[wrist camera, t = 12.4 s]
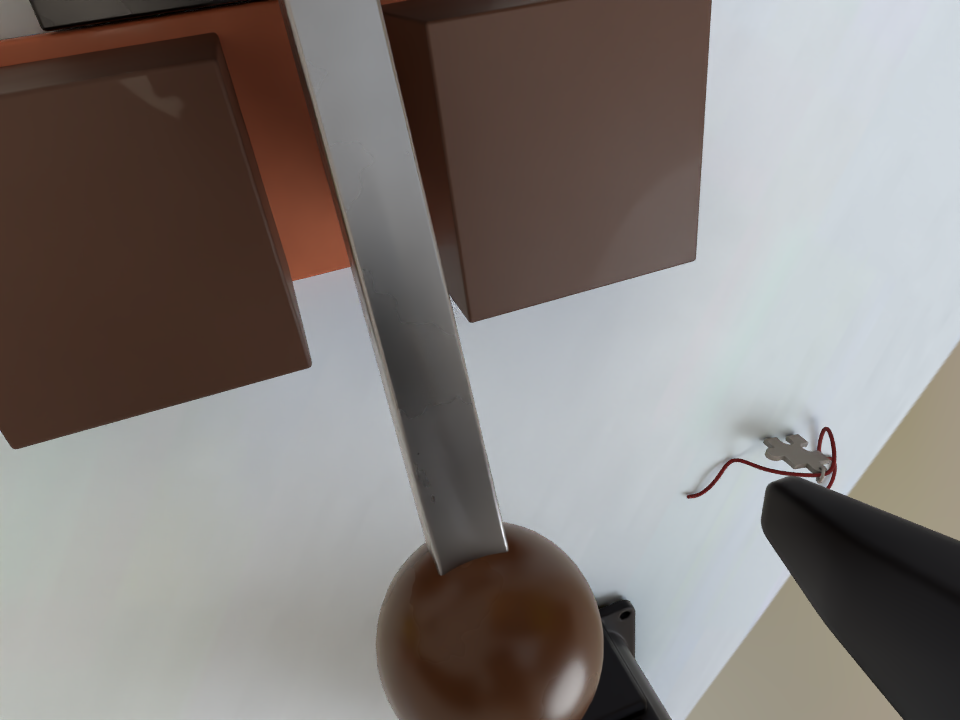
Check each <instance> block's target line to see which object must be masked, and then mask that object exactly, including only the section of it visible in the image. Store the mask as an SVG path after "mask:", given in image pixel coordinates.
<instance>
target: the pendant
mask: <svg viewBox="0 0 960 720" xmlns="http://www.w3.org/2000/svg"><path fill="white" fill-rule="evenodd" d="M825 431H827V432H828V435H829V438H830V441H831V447H832V457H826V456H825V455H824V454H822V453H821V444H822V439H823V436H824V433H825ZM786 441H787V442H789V443H790V444H791V445H789V444H785V443H783V442H781V441H780V440H779V439H778V438H777V437H774V438H767V439H764V442H763V443H764V444H765V445H766V446H768V447H769V448H768V449H767V450H766V452H765V456H766V457H767V458H768V459H770V460H773V461H779V460H784V461H785V462H786V463H787V464H788V465H790V466H791V467H792V468H793V469H799V468H805V467H806V468H808V469H809V470H810V471H811V472H812V473H795V472H786V471H779V470H774V469H770V468H766V467H763V466H760V465H757V464H754V463H752V462H749V461H746V460H743V459H739V458H734V459H731V460H729V461H728V462H727V463H726V464H725V465H724V466H723V467H722V469H721V470H720V472H719V473H718V475H717V476H716V477H715V479H714V480H713V481H712V482H711V483H710V484H709V485H708V486H707V487H706V488H705V489H704V490H702V491H701V492H699V493H696V494H692V495H687V498H688V499H689V498H696V497H699V496H701V495H703V494H704V493H706V492H707V491H708V490H710V489H711V488H712V487H713V486H714V485H715V483H716V482H717V481H718V480H719V478H720V477H721V476H722V474H723V473H724V471H725V470H726V468H727V467H728V466H729V465H730V464H731V463H733V462H741V463H744V464H747V465H750V466H752V467H755V468H758V469H760V470H763V471H767V472H771V473H775V474H781V475H788V476H798V477H816V481H817V483H822V481H823V479H824V476H826V475H829V474H830V473H831V472H832V471H833V473H832V477H831V480H830V482H829V484H828V486H827V487H826V488H828V489H830V488H831V486H832V484H833V482H834V480H835V476H836V471H837V464H836V446H835V441H834V437H833V434H832V432H831V430H830V429H829V428H828V427H824V428H823V429H822V431H821V433H820V436H819V440H818V446H817V451H814V452H811V451H807V450H805V449H803V448H802V447H807V445H808V442H807V441H806V440H805V439H804V438H802V437H801V436H800V435H798V434H796V435H789V436H787V437H786ZM830 460H831V461H832V464H831V466H830V468H829V469H828V470H827V469H826V467H825V466H824V464H829V462H830ZM826 470H827V471H826Z"/></svg>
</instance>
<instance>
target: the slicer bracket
mask: <svg viewBox="0 0 960 720" xmlns="http://www.w3.org/2000/svg"><path fill="white" fill-rule="evenodd" d="M29 1H30V3H31V6H32V8H33V10H34V13H35V15H36V17H37V19H38V22H39V24H40V26H41V28H42V29H43V30H44V31H53V30H60V29H66V28H73V27H79V26H86V25H92V24H99V23H105V22H112V21H118V20H124V19H131V18H137V17H144V16H150V15H157V14H163V13H170V12H176V11H183V10H189V9H196V8H202V7H209V6H215V5H221V4H228V3H234V2H241V1H247V0H29Z"/></svg>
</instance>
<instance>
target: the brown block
mask: <svg viewBox="0 0 960 720" xmlns="http://www.w3.org/2000/svg"><path fill="white" fill-rule="evenodd" d="M380 3H381V7H382V12H383V16H384V20H385V24H386V29H387V33H388V37H389V41H390V46H391V50H392V54H393V58H394V63H395V67H396V71H397V75H398V80H399V84H400V88H401V92H402V97H403V101H404V105H405V109H406V114H407V118H408V122H409V126H410V131H411V135H412V139H413V143H414V148H415V152H416V156H417V160H418V165H419V169H420V173H421V177H422V182H423V186H424V190H425V194H426V199H427V203H428V207H429V211H430V216H431V220H432V224H433V228H434V233H435V237H436V241H437V245H438V250H439V254H440V258H441V262H442V267H443V271H444V275H445V279H446V284H447V288H448V292H449V295H450V296H451V297H452V299H453V300H454V302H455V303H456V304H457V306H458V307H459V308H460V310H461V311H462V313H463V314H464V315H465V317H466V318H467V319H468V321H469V322H471V323H473V322H476V321H480V320H483V319H487V318H491V317H494V316H498V315H501V314H505V313H509V312H512V311H516V310H519V309H523V308H526V307H530V306H534V305H537V304H541V303H544V302H548V301H552V300H555V299H559V298H562V297H566V296H570V295H573V294H577V293H580V292H584V291H588V290H591V289H595V288H598V287H602V286H605V285H609V284H613V283H616V282H620V281H623V280H627V279H631V278H634V277H638V276H641V275H645V274H649V273H652V272H656V271H659V270H663V269H666V268H670V267H674V266H677V265H681V264H684V263H688V262H692V261H694V260H695V259H696V246H697V230H698V214H699V197H700V181H701V165H702V149H703V133H704V116H705V100H706V84H707V68H708V51H709V35H710V19H711V3H712V0H380ZM347 267H351V266H350V262H349V259H348V255H347V251H346V248H345V244H344V240H343V237H342V233H341V229H340V226H339V222H338V218H337V215H336V211H335V207H334V204H333V200H332V196H331V193H330V189H329V185H328V182H327V178H326V174H325V171H324V167H323V163H322V160H321V156H320V152H319V149H318V145H317V141H316V138H315V134H314V130H313V127H312V123H311V119H310V116H309V112H308V108H307V105H306V101H305V97H304V94H303V90H302V86H301V83H300V79H299V75H298V72H297V68H296V64H295V61H294V57H293V53H292V50H291V46H290V42H289V39H288V35H287V31H286V28H285V24H284V20H283V17H282V13H281V9H280V6H279V2H278V0H256V1H249V2H243V3H236V4H230V5H223V6H217V7H211V8H204V9H198V10H191V11H185V12H178V13H172V14H165V15H159V16H152V17H146V18H140V19H133V20H127V21H120V22H114V23H107V24H101V25H94V26H88V27H82V28H75V29H69V30H62V31H56V32H49V33H43V34H36V35H30V36H23V37H17V38H11V39H4V40H0V431H1V432H2V434H3V435H4V437H5V438H6V440H7V441H8V443H9V444H10V446H11V447H12V448H13V449H19V448H23V447H27V446H30V445H34V444H37V443H41V442H45V441H48V440H52V439H55V438H59V437H62V436H66V435H70V434H73V433H77V432H80V431H84V430H88V429H91V428H95V427H98V426H102V425H106V424H109V423H113V422H116V421H120V420H124V419H127V418H131V417H134V416H138V415H141V414H145V413H149V412H152V411H156V410H159V409H163V408H167V407H170V406H174V405H177V404H181V403H185V402H188V401H192V400H195V399H199V398H203V397H206V396H210V395H213V394H217V393H220V392H224V391H228V390H231V389H235V388H238V387H242V386H246V385H249V384H253V383H256V382H260V381H264V380H267V379H271V378H274V377H278V376H281V375H285V374H289V373H292V372H296V371H299V370H303V369H307V368H309V367H311V366H312V361H311V357H310V352H309V348H308V344H307V340H306V336H305V332H304V328H303V324H302V320H301V315H300V311H299V307H298V303H297V299H296V295H295V291H294V287H293V283H292V281H295V280H299V279H303V278H307V277H311V276H315V275H319V274H323V273H327V272H331V271H335V270H339V269H343V268H347Z"/></svg>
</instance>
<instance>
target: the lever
mask: <svg viewBox="0 0 960 720" xmlns="http://www.w3.org/2000/svg"><path fill="white" fill-rule="evenodd" d="M278 2H279V6H280V9H281V13H282V17H283V20H284V24H285V28H286V31H287V35H288V39H289V42H290V46H291V50H292V53H293V57H294V61H295V64H296V68H297V72H298V75H299V79H300V83H301V86H302V90H303V94H304V97H305V101H306V105H307V108H308V112H309V116H310V119H311V123H312V127H313V130H314V134H315V138H316V141H317V145H318V149H319V152H320V156H321V160H322V163H323V167H324V171H325V174H326V178H327V182H328V185H329V189H330V193H331V196H332V200H333V204H334V207H335V211H336V215H337V218H338V222H339V226H340V229H341V233H342V237H343V240H344V244H345V248H346V251H347V255H348V259H349V262H350V266H351V270H352V273H353V277H354V281H355V284H356V288H357V292H358V295H359V299H360V303H361V306H362V310H363V314H364V317H365V321H366V325H367V328H368V332H369V336H370V339H371V343H372V347H373V350H374V354H375V358H376V361H377V365H378V369H379V372H380V376H381V380H382V383H383V387H384V391H385V394H386V398H387V402H388V405H389V409H390V413H391V416H392V420H393V424H394V427H395V431H396V435H397V438H398V442H399V446H400V449H401V453H402V457H403V460H404V464H405V468H406V471H407V475H408V478H409V482H410V486H411V489H412V493H413V497H414V500H415V504H416V508H417V511H418V515H419V519H420V522H421V526H422V530H423V533H424V537H425V541H426V543H424V544H423V545H422V546H420V547H419V548H418V549H417V550H416V551H415V552H414V553H413V554H412V555H411V556H410V557H409V558H408V559H407V561H406V562H405V563H404V564H403V565H402V566H401V568H400V569H399V571H398V572H397V574H396V575H395V577H394V578H393V580H392V582H391V584H390V586H389V588H388V590H387V593H386V595H385V598H384V601H383V604H382V606H381V609H380V614H379V618H378V624H377V634H376V654H377V666H378V671H379V675H380V679H381V683H382V686H383V689H384V692H385V694H386V697H387V699H388V701H389V703H390V705H391V707H392V709H393V711H394V712H395V714H396V715H397V717H398V719H399V720H581V719H582V718H583V716H584V715H585V713H586V711H587V709H588V707H589V705H590V704H591V702H592V700H593V697H594V695H595V692H596V690H597V686H598V683H599V679H600V675H601V670H602V664H603V647H604V644H603V628H602V622H601V617H600V613H599V609H598V606H597V602H596V600H595V598H594V595H593V593H592V591H591V588H590V586H589V584H588V582H587V580H586V579H585V577H584V576H583V574H582V573H581V571H580V570H579V568H578V567H577V565H576V564H575V563H574V562H573V561H572V560H571V558H570V557H569V556H568V555H567V554H566V553H565V552H564V551H563V550H562V549H560V548H559V547H558V546H557V545H555V544H554V543H553V542H552V541H550V540H548V539H547V538H545V537H543V536H542V535H540V534H538V533H536V532H535V531H532V530H530V529H527V528H525V527H522V526H518V525H514V524H510V523H505V522H502V517H501V513H500V509H499V505H498V500H497V496H496V492H495V488H494V483H493V479H492V475H491V471H490V466H489V462H488V458H487V454H486V449H485V445H484V441H483V437H482V432H481V428H480V424H479V420H478V415H477V411H476V407H475V403H474V398H473V394H472V390H471V386H470V381H469V377H468V373H467V369H466V364H465V360H464V356H463V352H462V347H461V343H460V339H459V335H458V330H457V326H456V322H455V318H454V313H453V309H452V305H451V301H450V296H449V292H448V288H447V284H446V279H445V275H444V271H443V267H442V262H441V258H440V254H439V250H438V245H437V241H436V237H435V233H434V228H433V224H432V220H431V216H430V211H429V207H428V203H427V199H426V194H425V190H424V186H423V182H422V177H421V173H420V169H419V165H418V160H417V156H416V152H415V148H414V143H413V139H412V135H411V131H410V126H409V122H408V118H407V114H406V109H405V105H404V101H403V97H402V92H401V88H400V84H399V80H398V75H397V71H396V67H395V63H394V58H393V54H392V50H391V46H390V41H389V37H388V33H387V29H386V24H385V20H384V16H383V12H382V7H381V3H380V0H278Z"/></svg>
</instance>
